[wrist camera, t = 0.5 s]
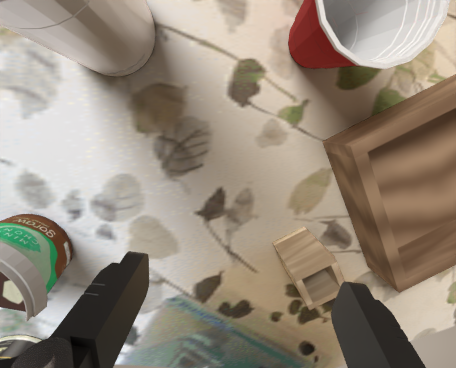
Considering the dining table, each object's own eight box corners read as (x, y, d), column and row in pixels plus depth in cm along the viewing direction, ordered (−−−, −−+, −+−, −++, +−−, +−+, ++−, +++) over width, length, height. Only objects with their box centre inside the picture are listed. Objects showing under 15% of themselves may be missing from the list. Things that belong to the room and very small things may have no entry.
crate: (322, 141, 31) (350, 145, 25) (476, 63, 31) (540, 50, 25) (367, 266, 37) (399, 292, 31) (498, 201, 37) (554, 216, 31)
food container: (93, 219, 30) (44, 264, 21) (83, 261, 32) (33, 323, 22) (-17, 192, 28) (-129, 228, 19) (-23, 238, 29) (-132, 295, 20)
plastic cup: (374, 35, 29) (492, -23, 17) (313, 108, 30) (384, 100, 18) (312, -40, 26) (401, -168, 15) (248, 44, 27) (283, -12, 16)
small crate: (272, 242, 34) (293, 277, 26) (304, 226, 34) (334, 257, 26) (285, 269, 35) (309, 310, 28) (316, 254, 35) (348, 290, 28)
